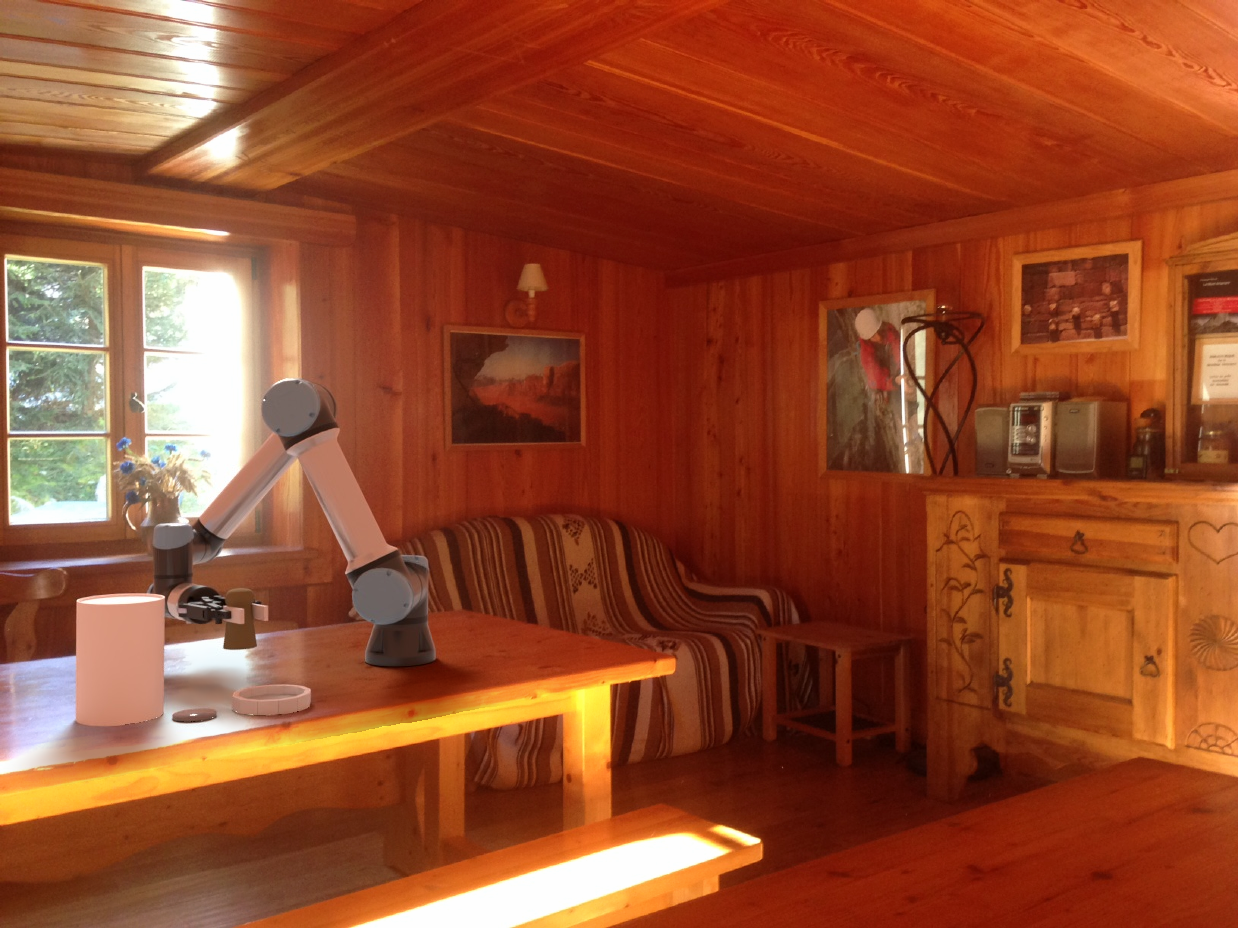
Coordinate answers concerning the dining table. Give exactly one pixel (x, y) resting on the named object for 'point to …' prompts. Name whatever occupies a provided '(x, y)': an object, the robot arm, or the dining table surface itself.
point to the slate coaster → (194, 715)
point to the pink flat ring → (271, 699)
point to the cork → (240, 633)
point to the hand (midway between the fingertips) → (254, 614)
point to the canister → (119, 659)
